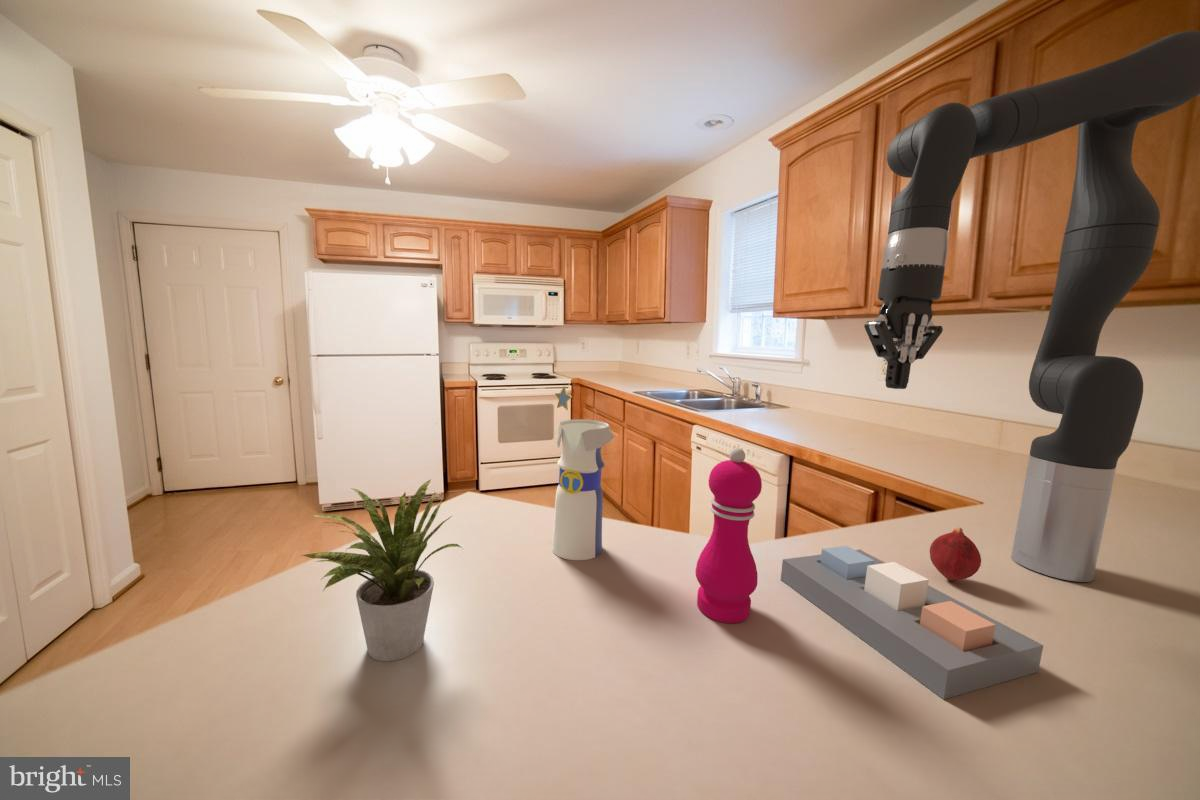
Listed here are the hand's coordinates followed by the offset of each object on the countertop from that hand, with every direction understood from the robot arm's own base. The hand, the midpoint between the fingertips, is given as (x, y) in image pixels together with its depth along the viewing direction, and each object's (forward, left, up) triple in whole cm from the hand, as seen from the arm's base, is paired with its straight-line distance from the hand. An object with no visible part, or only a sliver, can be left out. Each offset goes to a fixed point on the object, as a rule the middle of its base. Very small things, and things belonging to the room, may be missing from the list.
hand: (895, 388), depth 66 cm
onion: (-7, +7, -27) cm, 29 cm away
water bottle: (+43, -14, -27) cm, 53 cm away
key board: (+11, +12, -27) cm, 32 cm away
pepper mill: (+30, +5, -27) cm, 41 cm away
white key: (+11, +12, -25) cm, 30 cm away
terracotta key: (+11, +19, -26) cm, 34 cm away
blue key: (+11, +5, -26) cm, 29 cm away
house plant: (+67, +1, -27) cm, 72 cm away
